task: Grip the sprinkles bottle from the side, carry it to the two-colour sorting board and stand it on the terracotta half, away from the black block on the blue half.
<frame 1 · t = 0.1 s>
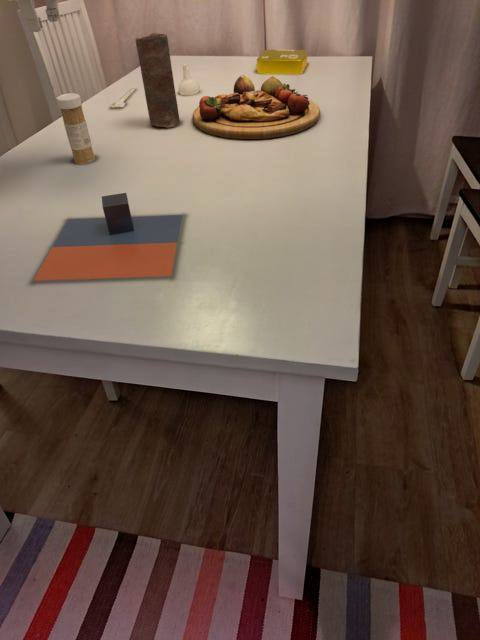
hand: (46, 26, 78), 27 cm above the table, tool pointing down, fingers open, 8 cm apart
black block: (121, 227, 78), point 1 cm above the table, touching sorting board
sprinkles bottle: (85, 162, 102), on the table
garlic bulb: (189, 94, 137), on the table
wooden plate: (256, 120, 118), on the table
brown rough pillar: (165, 126, 117), on the table
sorting board: (115, 247, 74), on the table
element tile: (282, 69, 155), on the table
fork: (125, 101, 135), on the table
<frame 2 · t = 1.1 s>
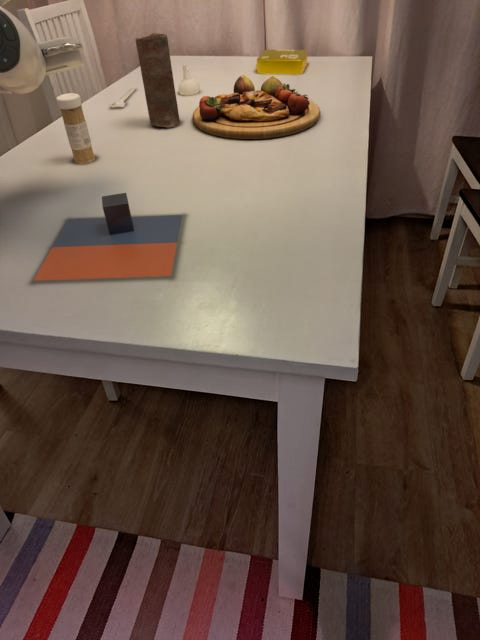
hand: (27, 73, 82), 20 cm above the table, tool tilted 70°, fingers open, 8 cm apart
nothing on the table moved.
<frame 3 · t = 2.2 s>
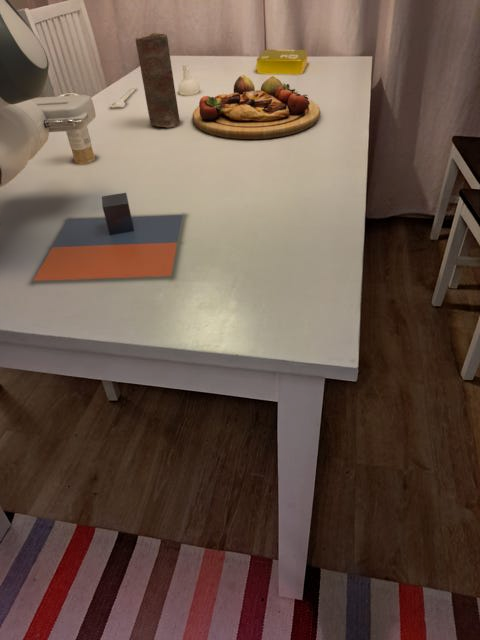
hand: (45, 100, 82), 16 cm above the table, tool horizontal, fingers open, 8 cm apart
nothing on the table moved.
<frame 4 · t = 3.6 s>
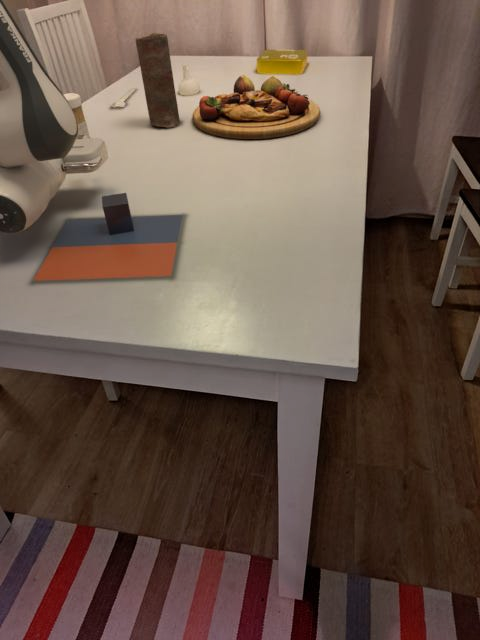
hand: (60, 140, 88), 8 cm above the table, tool horizontal, fingers open, 8 cm apart
nothing on the table moved.
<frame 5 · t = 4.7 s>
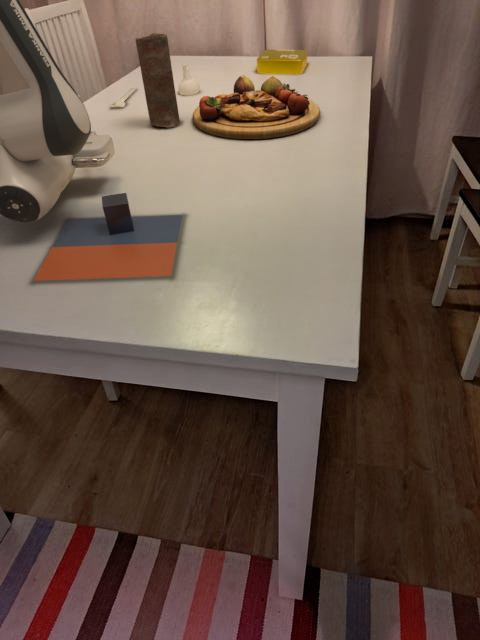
hand: (69, 136, 93), 7 cm above the table, tool horizontal, fingers open, 8 cm apart
nothing on the table moved.
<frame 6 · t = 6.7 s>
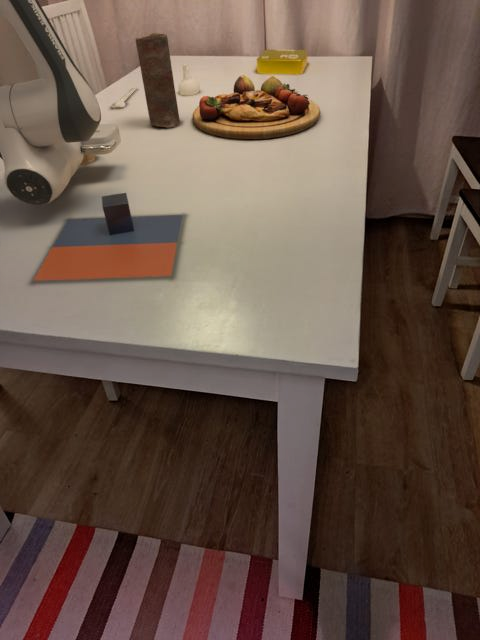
hand: (77, 126, 97), 7 cm above the table, tool horizontal, fingers closed on sprinkles bottle, 4 cm apart
sprinkles bottle: (85, 162, 102), on the table, touching gripper
everything else where it was.
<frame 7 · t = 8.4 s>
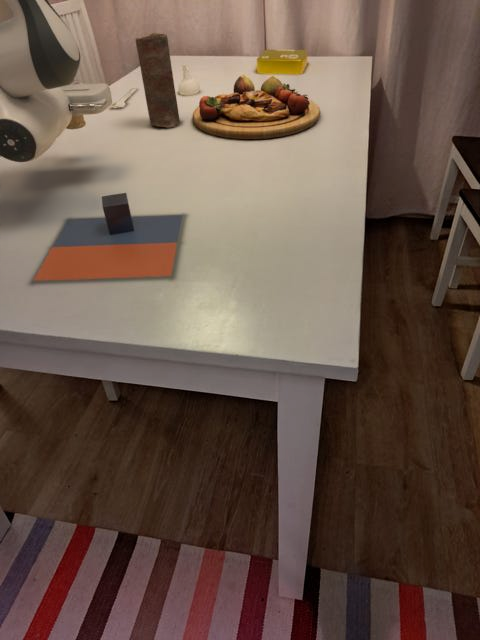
hand: (66, 87, 92), 15 cm above the table, tool horizontal, fingers closed on sprinkles bottle, 4 cm apart
sprinkles bottle: (75, 127, 96), point 7 cm above the table, touching gripper
everything else where it was.
when the fingers open (8 cm above the table, at t = 18.4 s): sprinkles bottle stays where it is, resting on sorting board.
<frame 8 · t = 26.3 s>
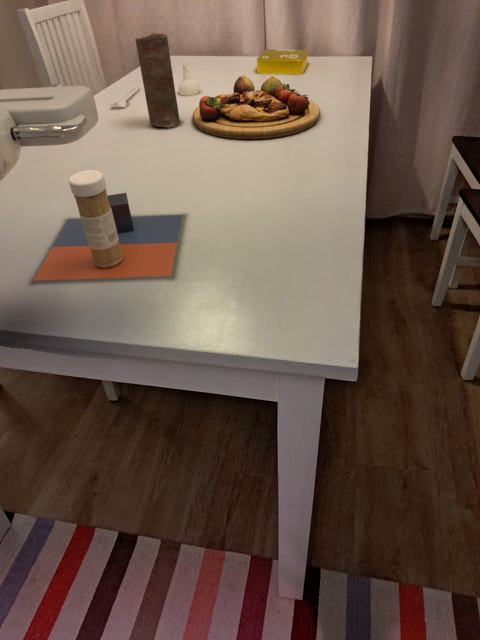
hand: (18, 93, 52), 25 cm above the table, tool horizontal, fingers open, 8 cm apart
sprinkles bottle: (109, 262, 70), resting on sorting board
everything else where it was.
at the end: sprinkles bottle inside the target area on the sorting board (0.1 cm from its centre), point 0.4 cm above the sorting board's base; sprinkles bottle tilted 0°; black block moved 0.0 cm from its start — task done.
